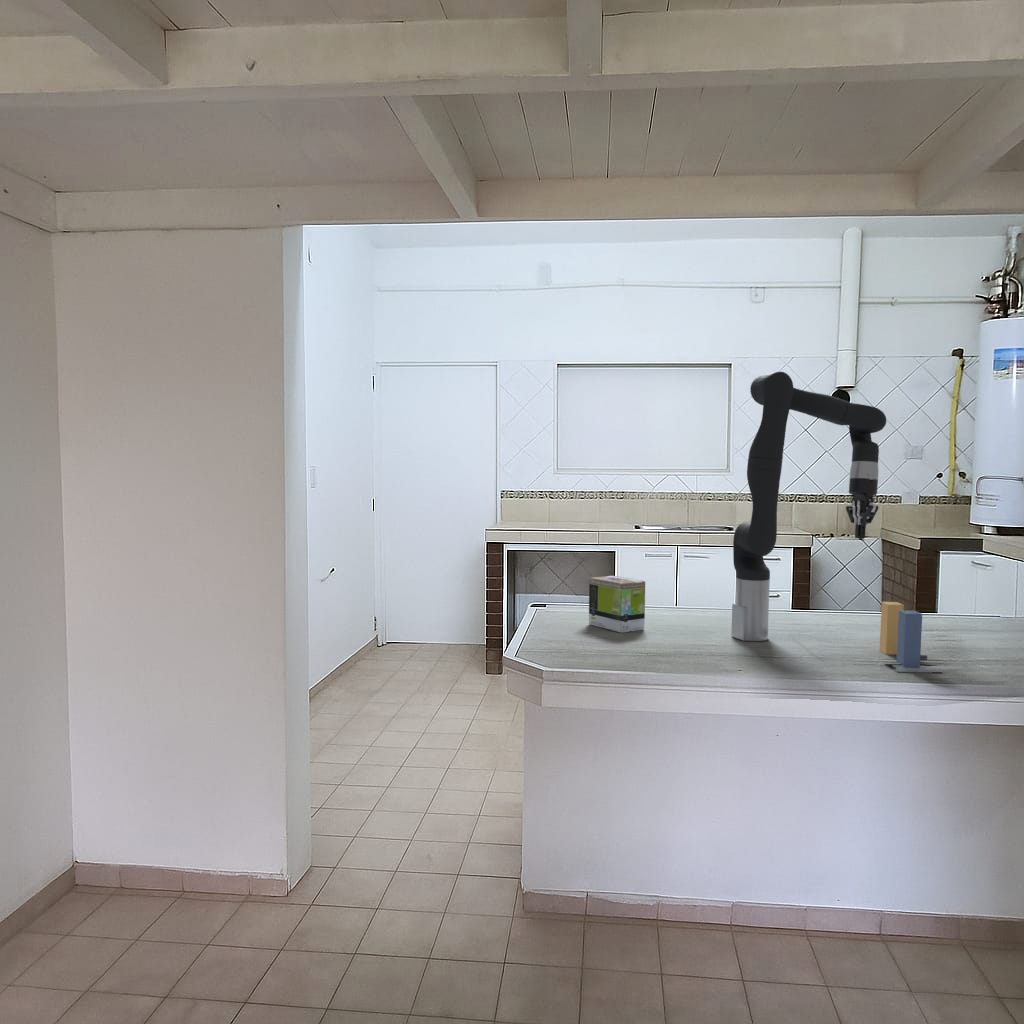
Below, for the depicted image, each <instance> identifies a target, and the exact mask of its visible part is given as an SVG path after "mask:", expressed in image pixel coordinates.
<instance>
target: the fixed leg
mask: <svg viewBox="0 0 1024 1024" xmlns="http://www.w3.org/2000/svg"><path fill="white" fill-rule="evenodd" d="M922 627H923V613H921V612H919V611H916V610H904V611H901V610H899V617H898V640H897V655H896V662H897V663H898V664H901V665H903V666H920V665H921V661H926V662H927V661H928V655H926V654H921V652H922V650H921V649H922V648H921V647H922V646H921V645H922V632H923V630H922Z"/></svg>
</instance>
